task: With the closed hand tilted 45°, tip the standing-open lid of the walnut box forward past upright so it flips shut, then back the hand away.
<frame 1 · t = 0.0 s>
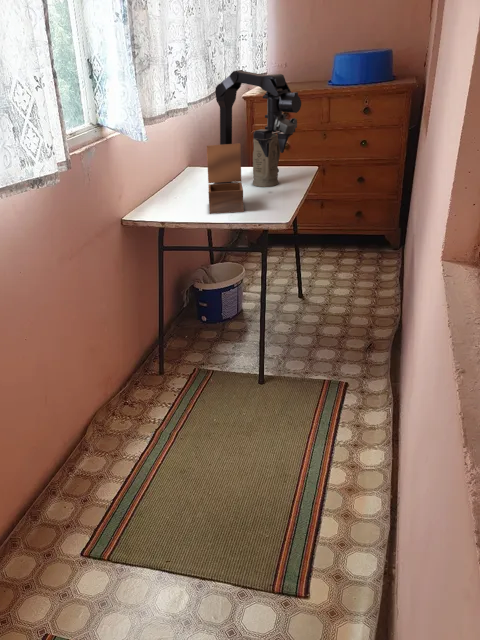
hand: (274, 154, 237), 15 cm above the table, tool pointing down, fingers open, 9 cm apart
walnut box: (226, 208, 229), on the table
lid: (224, 163, 228), point 15 cm above the table, hinge at 98.0°
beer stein: (268, 183, 260), on the table
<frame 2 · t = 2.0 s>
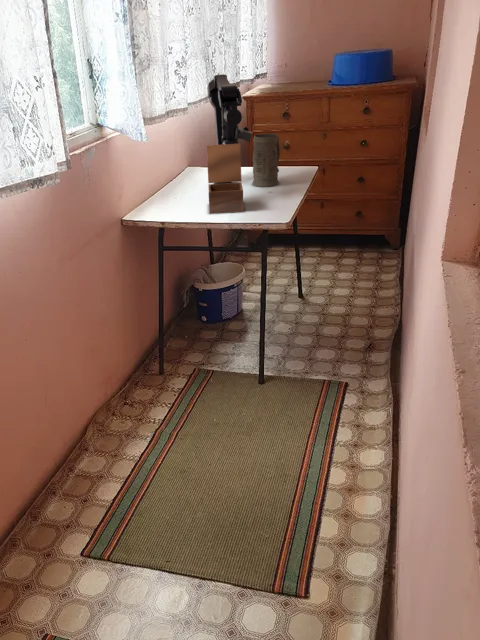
hand: (230, 164, 239), 12 cm above the table, tool pointing down, fingers closed
nothing on the table moved.
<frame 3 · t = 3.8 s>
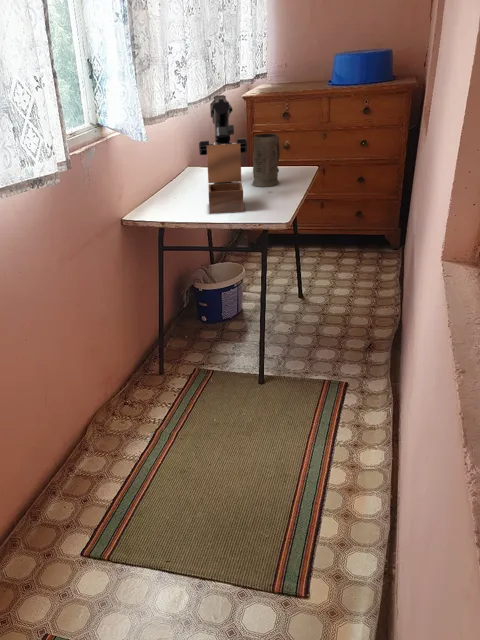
hand: (224, 165, 236), 12 cm above the table, tool tilted 45°, fingers closed
nothing on the table moved.
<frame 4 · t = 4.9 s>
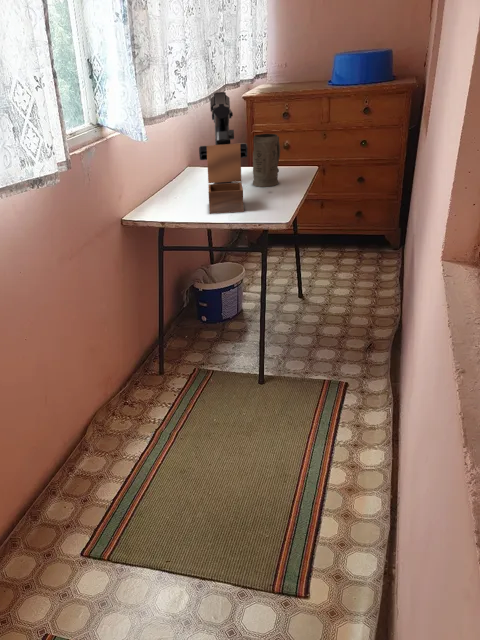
hand: (224, 170, 234), 11 cm above the table, tool tilted 45°, fingers closed
nothing on the table moved.
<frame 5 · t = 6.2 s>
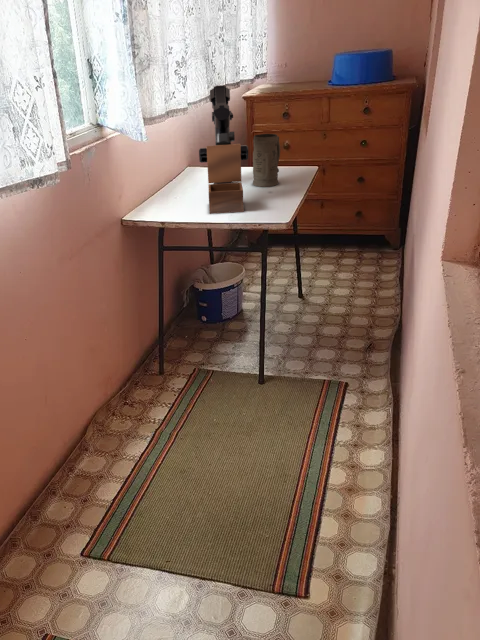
hand: (224, 173, 229), 11 cm above the table, tool tilted 45°, fingers closed, pressing on lid
lid: (224, 163, 227), point 15 cm above the table, hinge at 90.4°, touching gripper
everything else where it was.
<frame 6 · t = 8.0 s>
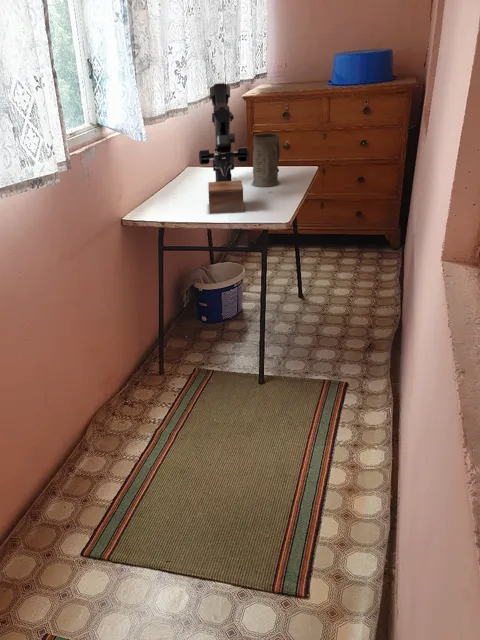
hand: (224, 175, 227), 11 cm above the table, tool tilted 45°, fingers closed
lid: (225, 186, 225), point 8 cm above the table, hinge at -0.2°
everything else where it was.
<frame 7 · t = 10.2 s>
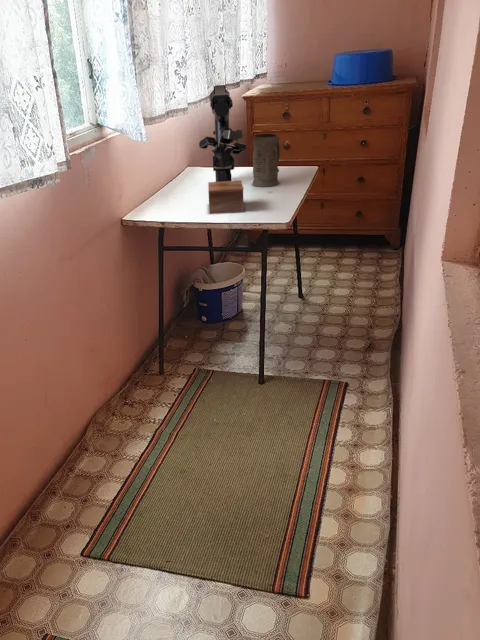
hand: (223, 167, 237), 12 cm above the table, tool tilted 30°, fingers closed
nothing on the table moved.
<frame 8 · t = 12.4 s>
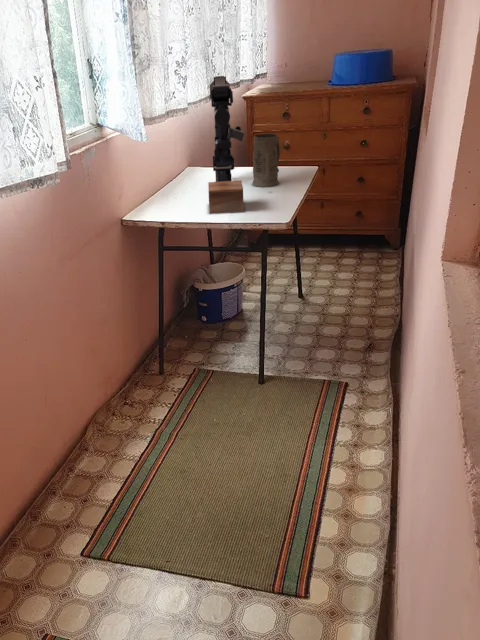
hand: (223, 163, 242), 12 cm above the table, tool pointing down, fingers closed
nothing on the table moved.
at the end: lid at +0° (first picture: +98°); lid reached +98° during the clip, +0° at the end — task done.
